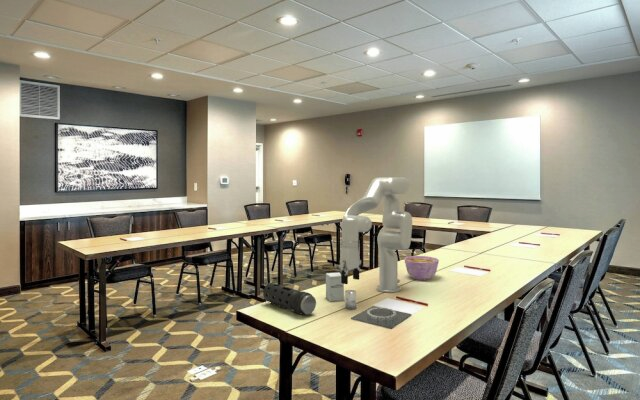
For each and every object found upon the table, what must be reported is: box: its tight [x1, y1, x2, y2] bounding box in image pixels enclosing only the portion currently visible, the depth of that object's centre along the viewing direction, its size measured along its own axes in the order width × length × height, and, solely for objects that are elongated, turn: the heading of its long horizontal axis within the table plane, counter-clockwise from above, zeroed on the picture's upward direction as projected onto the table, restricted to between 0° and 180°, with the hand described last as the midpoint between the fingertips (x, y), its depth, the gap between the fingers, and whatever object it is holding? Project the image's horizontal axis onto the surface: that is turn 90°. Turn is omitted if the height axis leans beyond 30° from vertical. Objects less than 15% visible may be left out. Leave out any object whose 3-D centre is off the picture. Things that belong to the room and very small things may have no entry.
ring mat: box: [350, 305, 412, 330], centre depth 167 cm, size 19×19×2 cm
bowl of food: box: [404, 255, 440, 281], centre depth 230 cm, size 20×20×12 cm
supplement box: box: [325, 272, 345, 303], centre depth 193 cm, size 7×7×13 cm
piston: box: [344, 289, 357, 311], centre depth 179 cm, size 5×5×8 cm
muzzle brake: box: [262, 282, 317, 316], centre depth 178 cm, size 10×28×10 cm, turn 44°
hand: (350, 281), depth 178 cm, fingers open, 9 cm apart
